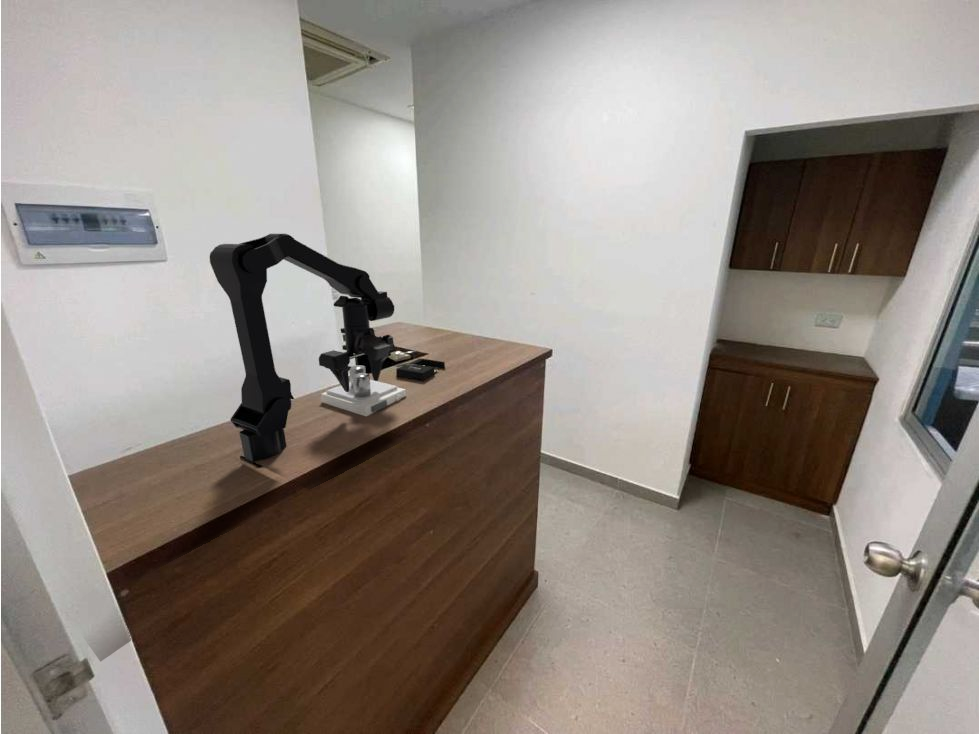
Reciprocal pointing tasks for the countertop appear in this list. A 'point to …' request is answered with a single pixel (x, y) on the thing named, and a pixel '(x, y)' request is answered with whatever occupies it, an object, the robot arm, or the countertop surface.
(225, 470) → the countertop surface
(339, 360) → the robot arm
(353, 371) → the spacer
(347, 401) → the scale
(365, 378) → the spacer
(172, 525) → the countertop surface
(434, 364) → the battery charger
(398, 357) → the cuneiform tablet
